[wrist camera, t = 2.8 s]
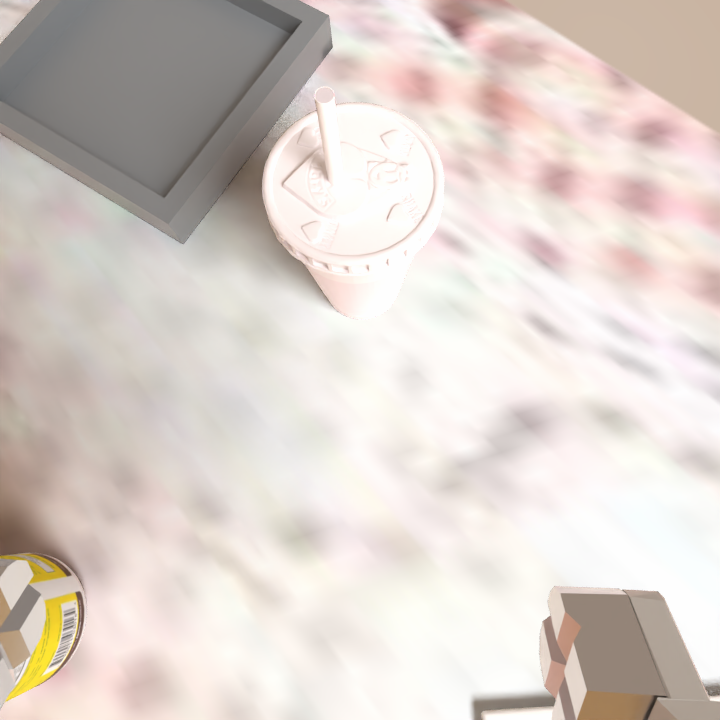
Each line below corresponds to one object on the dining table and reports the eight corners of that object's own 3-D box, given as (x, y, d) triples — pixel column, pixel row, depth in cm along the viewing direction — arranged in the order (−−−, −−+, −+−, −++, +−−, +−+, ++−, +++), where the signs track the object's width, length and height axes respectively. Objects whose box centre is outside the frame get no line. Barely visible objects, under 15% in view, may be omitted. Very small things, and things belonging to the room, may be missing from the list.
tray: (-18, 122, 33) (-46, 94, 31) (136, -54, 36) (121, -89, 34) (183, 244, 31) (168, 224, 29) (332, 47, 33) (329, 15, 31)
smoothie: (295, 230, 31) (226, 7, 17) (420, 220, 31) (450, -13, 17) (301, 350, 29) (229, 209, 16) (433, 340, 29) (476, 189, 15)
